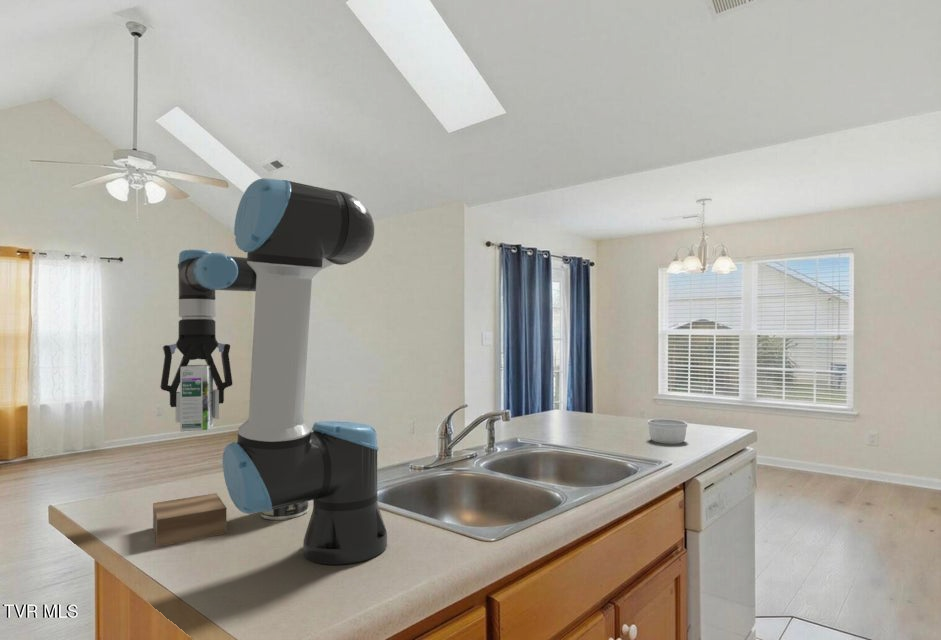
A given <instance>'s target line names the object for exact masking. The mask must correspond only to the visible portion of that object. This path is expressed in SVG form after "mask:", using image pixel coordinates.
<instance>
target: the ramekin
mask: <svg viewBox="0 0 941 640" xmlns="http://www.w3.org/2000/svg"><path fill="white" fill-rule="evenodd" d="M647 425H648V430H649V437H650V440H651V441H653V442H655V443H658V444H664V445H665V444H668V445H669V444H670V445H673V444H674V445H675V444H676V445H677V444H682V443H683V442H684V441H685V440H686V435H687V428H688V422H686V421H684V420H680V419H673V418H672V419H671V418H652V419H648V420H647Z"/></svg>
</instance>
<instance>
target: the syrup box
mask: <svg viewBox="0 0 941 640" xmlns="http://www.w3.org/2000/svg"><path fill="white" fill-rule="evenodd" d="M179 387H180V388H179V389H180V391H179V392H180V422H179V424H180V426H179V429H180V432H192V431H193V432H194V431H197V432H198V431H208V430H210V429H211V428H212V427H213V426H214V418H213V390H214V379H213V376H212V373H211V369H210V365H207V364H189V365H187V366H183V367H181V368H180V384H179Z"/></svg>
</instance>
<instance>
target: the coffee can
mask: <svg viewBox="0 0 941 640" xmlns="http://www.w3.org/2000/svg"><path fill="white" fill-rule="evenodd" d="M309 509H310V508H309V501H306V502H302V503H298V504H294V505H290V506H286V507H282V508H277V509H273V510H272V511H269V512H267V511H263V512H259V513H260V517H261V518H263V519H265V520H270V521H271V520H272V521H282V520H283V521H285V520H288V519H289V520H290V519H295V518H298V517H301V516H304V515H305V514H307V513H308V512H309Z"/></svg>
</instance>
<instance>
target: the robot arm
mask: <svg viewBox="0 0 941 640" xmlns="http://www.w3.org/2000/svg"><path fill="white" fill-rule="evenodd" d="M233 229H234V230H233V233H234V234H233V235H234V236H235V237H234V238H235V239H234V241H235V245H236V246H237V247H238V249H240V250H241V251H243V252H245V253H247V256H246V257H242V256H233V255H232V256H231V255H228V254H226V253H223V252H212V251H210V250H203V249H185V250H184V249H183V250H182V251H180V252H179V254H178V264H177V269H178V317H180V318H181V319H179V320H178V339H177V341H176V343H174V344H173V343H172V344H168V345H167V344H164V345H163V347H162V350H163V354H164V359H163V366H162V373H161V380H160V381H161V382H160V386H159V387H160V389H161V390H162V391H166V392H169V406H170V408H174V409H175V412H174V413H175V416H174V417H175V422H176V423H180V420H181V395H180V394H181V393H180V391H178V388H179V387H180V368H181V367H183V366H187V365H188V364H189V363H190V361H194V360H204V361H205V363H206V365H210V369H211V373H212V376H213V383H215V386H216V389H214V388H213V419H215V420H218V419H220V404H224V402H225V389H227V388H229V387H232V386H233V378H232V369H231V362H230V356H229V353H230V349H231V345H230V343H221V342H218V340H217V339H216V337H217V336H216V320H215V319H214V318H215V317H216V291H231V292H255V297H254V313H253V315H254V316H253V317H254V318H253V332H252V348H251V350H252V351H251V352H252V353H251V369H250V370H251V371H250V389H249V406H248V409H249V410H248V419H246V421H245V422H243V423H242V424H241V425H240V426H238V429H237V440H236V441H237V442H236V441H232V442H231V443H229V444H227V445H226V446H225V447H224V451H223V453H222V470H223V471H222V473H223V478H224V482H225V485H226V489H227V491H228V495H229V498H230V499H231V501H232V503H233V505H234V506H235V508H236V509H237V510H238V511H240V512H241V513H243V514H247V515H248V514H249V515H252V514H257V513H261V512H263V511H267V512H269V511H272V510H273V509H277V508H282V507H286V506H290V505H294V504H298V503H302V502H306V501H308V502H310V501H312V504H313V506H312V507H313V508H312V513H311V516H310V518H309V521H308V524H307V528H306V530H305V534H304V537H303V542H302V543H303V546H302V551H303V556H304V557H305V558H306V559H307V560H309V561H311V562H314V563H317V564H321V565H322V564H323V565H347V564H355V563H359V562H363V561H367V560H369V559H370V560H371V559H373V558H376V556H378V555H380V554H382V553H383V552H384V551H385V550H386V549H387V547H388V531H387V527H386V524H385V522H384V520H383V516H382V513H381V510H380V507H379V503H378V501H379V500H378V451H379V445H378V437H377V430H376V429H375V428H374V427H373V426H371V425H369V424H366V423H361V422H353V421H352V422H351V421H350V422H349V421H339V420H337V421H336V420H320V421H315V422H314V423H313V425H312V426H311V425H310V424H309V423H308V422H307V421H306V420H305V419H304V409H305V407H304V406H305V392H306V391H305V390H306V389H305V388H306V379H307V375H306V374H307V364H308V363H307V359H308V345H309V328H310V313H311V312H310V311H311V299H312V297H311V296H312V281H313V278H314V277H315V276H316V275H317V274H318V273H319V272H321V271H322V270H323V269H327V268H328V267H331V266H333V265H337V266H341V265H342V266H343V265H347V264H350V263H352V262H354V261H356V260H358V259H360V258H361V257H363V256H364V255H365V254H366V253H367V252H368V251H369V249H370V248H371V246H372V244H373V241H374V237H375V223H374V220H373V218H372V215H371V213H370V211H369V209H368V208H367V207H366V205H364V203H363V202H362V201H360V199H358V198H357V197H355V196H354V195H352V194H350V193H348V192H344V191H340V190H333V189H328V188H325V187H324V188H323V187H319V186H314V185H310V184H306V183H305V184H304V183H302V182H301V183H299V182H295V181H291V180H287V179H286V180H284V179H273V178H258V179H256V180H254V181H253V182H251V183H250V185H248V187H247V188H246V189H245V191H244V193H243V194H242V196H241V198H240V200H239V203H238V207H237V210H236V214H235V220H234V227H233ZM176 349H177V350H178V351H179V352H180V353H181V354H182V358H181V361H180V364H179V365H178V368H177V370H176V373H175V375H174V377H173V380H172V382H171V385H170V384H169V380H170V374H171V366H172V359H173V357H172V355H174V354H175V353H176V352H175V351H176ZM216 349H218V352H220V355H221V365H222V371H223V378H224V381H223V380H222V378H221V376H220V373H219V371H218V369H217V367H216V364H215V362H214V358H213V356H212V354H213V353H214V352H215V350H216Z"/></svg>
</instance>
